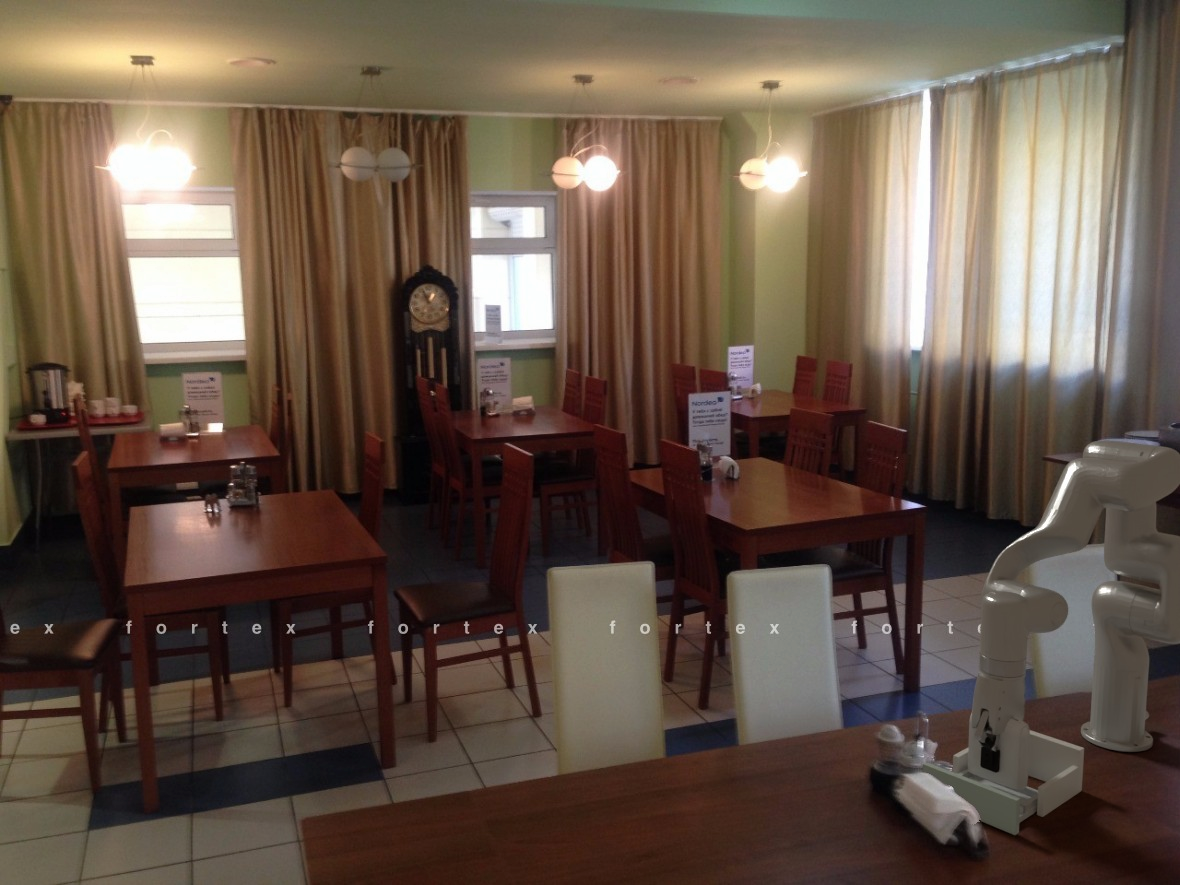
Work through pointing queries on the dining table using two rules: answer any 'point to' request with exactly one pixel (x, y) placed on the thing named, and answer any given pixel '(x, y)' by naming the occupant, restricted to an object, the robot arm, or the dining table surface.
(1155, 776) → the dining table surface
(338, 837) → the dining table surface
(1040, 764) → the dock
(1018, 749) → the photo printer
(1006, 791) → the tray
